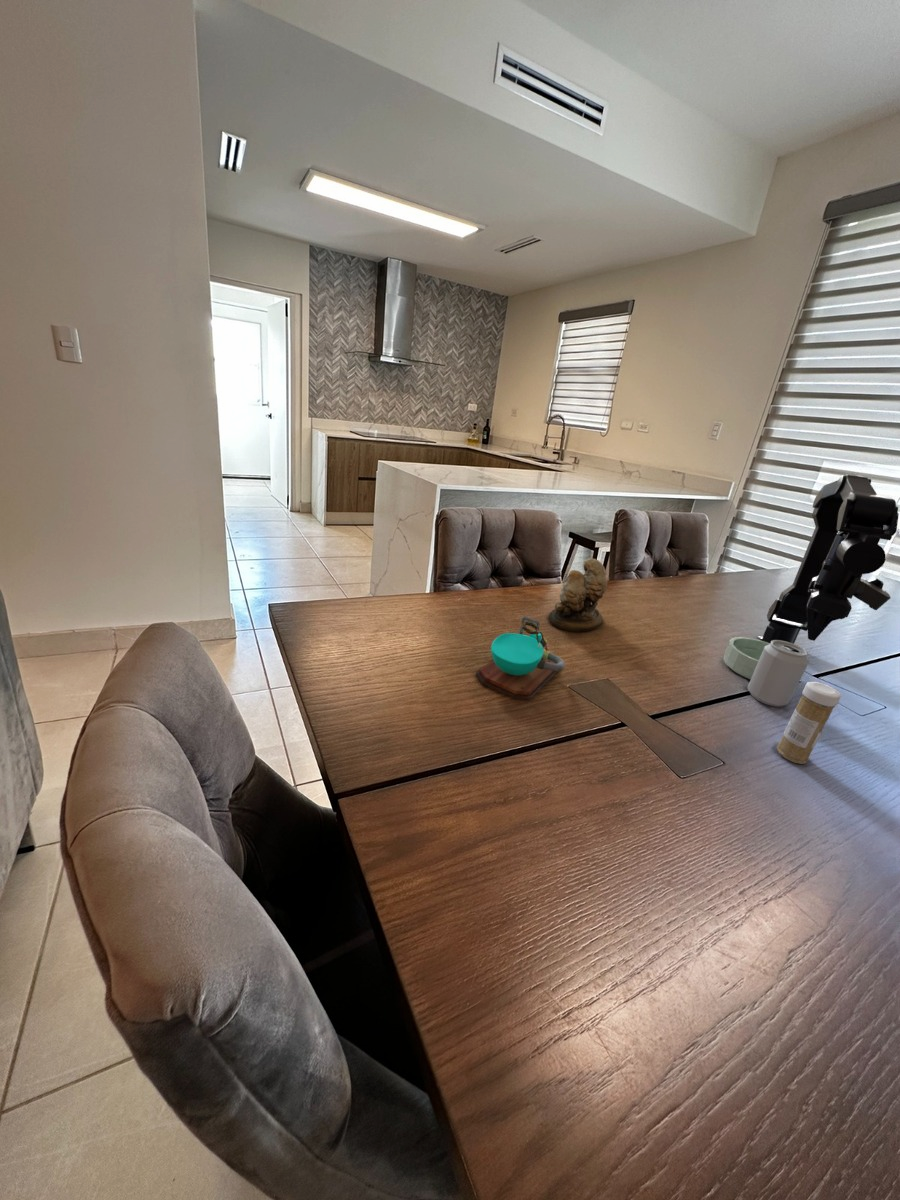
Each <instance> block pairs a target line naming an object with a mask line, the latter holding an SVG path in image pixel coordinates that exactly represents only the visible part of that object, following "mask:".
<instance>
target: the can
mask: <svg viewBox="0 0 900 1200" xmlns="http://www.w3.org/2000/svg"><path fill="white" fill-rule="evenodd" d="M808 653H809V652H808V651H807V649H805V648H803V647H801V646H800V645H798V644H795V643H794V644H793V643H790V642H786V641H781V640H773V641H771V644H769V645H767V646H765V647H764V650H763V652H762V654H761V657H760V659H759V661H758V664H757V666H756V668H755V671H754V673H753V676H752V678H751V680H750V679H749V682H748V685H747V690H748V692H749V694H750V696H752V697H753V698H754V699H755V700H756V701H758V702H760V703H762V704H765V705H767V706H770V707H771V706H772V707H778V708H779V707H783V706H788V705H789V704H790V703H791V702H792V698H793V697H794V694H795V693H796V690H797V689H798V686H799V684H800V681H801V680H802V677H803V676H804V673H805V671H806V669H807V667H808V664H809V658H808V657H807V656H808Z"/></svg>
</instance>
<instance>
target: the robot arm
mask: <svg viewBox="0 0 900 1200" xmlns="http://www.w3.org/2000/svg"><path fill="white" fill-rule="evenodd" d="M812 508H813V511H812V513H811V515H812V519H813V522H814V526H815V527H814V530H813V532H812V535H811V536H810V537H811V538H810V540H809V542H808V544H807V548H806V550H805V553H804V555H803V558H802V560H801V562H800V565H799V566H798V569H797V570H798V571H797V573H796V575H795V578H794V580H793V583H792V584H791V585H790V586H788V587H787V588H785V589H784V590H783V591H781V592H780V595H779V597H778V598H776V599H775V601H773V602H772V604H771V606H770V607H769V608H768V611H767V613H766V614H767V615H766V618H767V621H768V622H769V623H768V625H766V628H765V631H764V633H763V635H761V636H759V635H758V637H757V640H761V641H764V642H768V643H770V644H771V641H773V640H781V641H786V642H790V643H793V644H795V643H796V640H797V638H798V635H799V634H800V632H801V630H802V631H804V632H807V639H808V640H809V641H813V642H814V641H816V640H817V638H818V637H820V635H821V634H822V633H823V631H824V630H825V629H826V628H827V627H828V626H829V625H830V624H831V623H832V622H833V621H837V620H843V619H845V618H848V617H849V615H850V613H851V611H852V609H853V607H852V602H851V601H850V600H852V599H853V597H855V598H856V599H858V600H859V601H861V602H862V603H864V604H866V605H867V606H868V607H869V608H870V609H872V610H874V611H878V610H879V609H880V608H881V607H883V606H884V605H885V604H886V603H887V602H888V601H890V599H891V595H890V594H889V593H888V592H887V590H885V589H883V587H884V582H883V580H880V579H879V578H877V577H873V578H871V579H866V578H863V575H867V574H871V573H874V572H876V571H879V569H881V568H882V567H883V566H884V564H885V563H886V552H885V551H886V550H884V548H883V547H882V546H881V545H880V544H879V543H880V540H884V541H891V540H892V538H893V536H895V534H896V533H897V531H898V530H897V529H898V523H899V515H900V514H899V506H897V502H896V499H894V498H892V497H888V496H884V495H879V494H878V493H877V492H876V490H875V488H874V487H873V485H872V479H871V478H869V477H867V476H862V475H854V474H847V473H846V474H842V475H841V476H840V477H839V479H837V480H835V481H832V482H829V483H827V484H824V485H823V486H822V487H821V488H820V490H819V491H818V492H817V494H816V496H815V497H814V500H813V503H812ZM849 599H850V600H849Z"/></svg>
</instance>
